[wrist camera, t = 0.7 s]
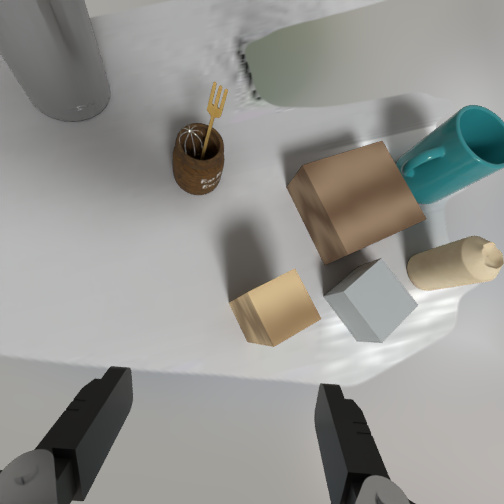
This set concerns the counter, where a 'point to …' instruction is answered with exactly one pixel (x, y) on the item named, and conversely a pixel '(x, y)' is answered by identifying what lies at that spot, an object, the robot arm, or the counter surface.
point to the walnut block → (353, 200)
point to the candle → (455, 264)
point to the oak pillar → (275, 310)
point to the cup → (454, 155)
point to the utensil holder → (200, 152)
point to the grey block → (371, 302)
